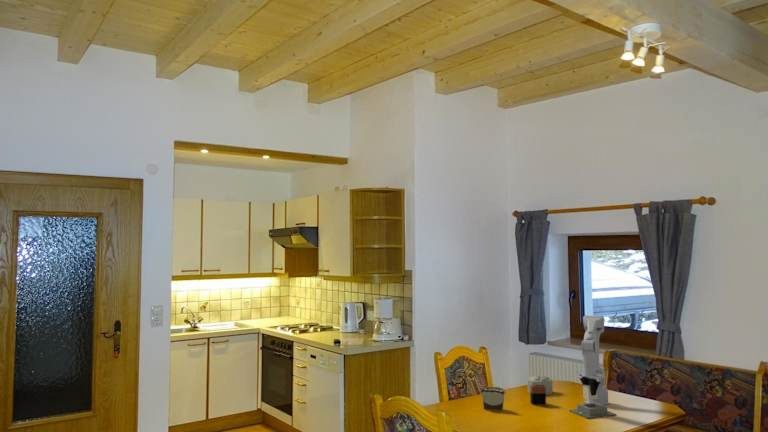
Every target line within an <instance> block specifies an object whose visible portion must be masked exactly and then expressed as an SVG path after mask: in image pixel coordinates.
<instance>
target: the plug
mask: <svg viewBox="0 0 768 432" xmlns="http://www.w3.org/2000/svg"><path fill="white" fill-rule="evenodd" d="M582 393H583V394H582V397H583V399H585V400H587V401H588V400H592V399H598V395H597V392H596V395H591V389H590V385H583V384H582Z"/></svg>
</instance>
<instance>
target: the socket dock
mask: <svg viewBox="0 0 768 432" xmlns="http://www.w3.org/2000/svg"><path fill="white" fill-rule="evenodd" d="M568 412H570V413H572V414H575V415H578V416H580V417H583V418H585V419H587V420H590V419H596V418H605V417H615V416H617V414H616V413H614V412H612V411H609V410H608V406H606V405H601V404H598V403H595V402H593V403H585V402H584V403H578V404H577V407H576V408H575V409H569V410H568Z"/></svg>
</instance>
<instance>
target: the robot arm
mask: <svg viewBox="0 0 768 432" xmlns="http://www.w3.org/2000/svg"><path fill="white" fill-rule="evenodd" d="M582 320H583V321H582V322H583V328H584V331H585V332H584V335H583V340H581V346H580V347H581V353H582V355H581V356H582V365H583V367H582V368H583V371H579V372H578V377H579V380H580V382H581V385H582V386H583V385H590V389H591V395H596V392H597V395H598V399H592V400H588V399H587V400H584V401H583V402H584V403H593V402H595V403H598V404H601V405H603V406H606V405H610V403H609V390H608V388H607V386H606V372H605V370H604V368H602V366H600V337H601V335H602V334H603V333H604V332H605V317H604V316H603V315H584V316H583V317H582Z"/></svg>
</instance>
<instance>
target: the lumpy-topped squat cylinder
mask: <svg viewBox="0 0 768 432" xmlns="http://www.w3.org/2000/svg"><path fill="white" fill-rule="evenodd" d="M526 380H527V393H529V394H530V385H533V384H536V385H539V383H542V384H543V385H544V386H545V388H546V395H547V396H548V395H551V394H553V390H554V389H553V379H552V378H550V377H548V376H547V375H541V376H540V375H538V374H536V375H534V376H530V377H528V378H527V379H526Z"/></svg>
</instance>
